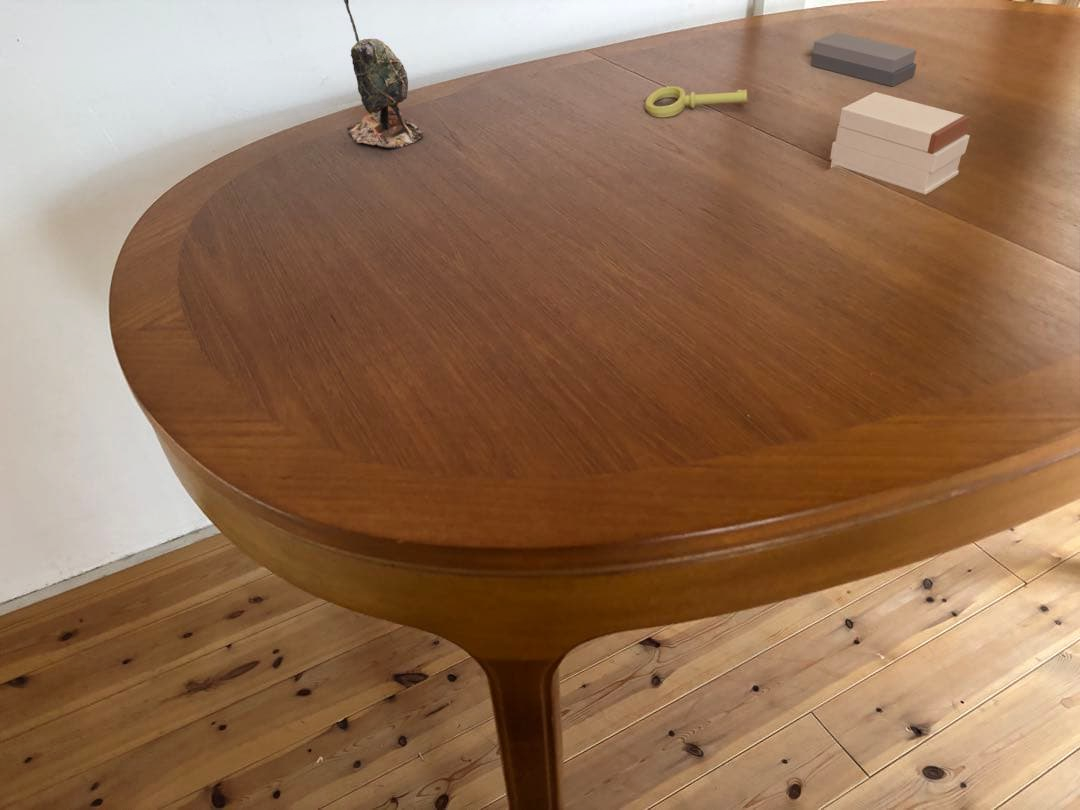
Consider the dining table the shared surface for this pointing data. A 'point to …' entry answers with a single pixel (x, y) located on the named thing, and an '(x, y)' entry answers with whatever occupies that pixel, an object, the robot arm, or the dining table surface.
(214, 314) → the dining table surface
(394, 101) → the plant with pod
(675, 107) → the key
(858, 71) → the grey stack
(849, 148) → the beige box
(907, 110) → the white book
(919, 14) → the dining table surface
